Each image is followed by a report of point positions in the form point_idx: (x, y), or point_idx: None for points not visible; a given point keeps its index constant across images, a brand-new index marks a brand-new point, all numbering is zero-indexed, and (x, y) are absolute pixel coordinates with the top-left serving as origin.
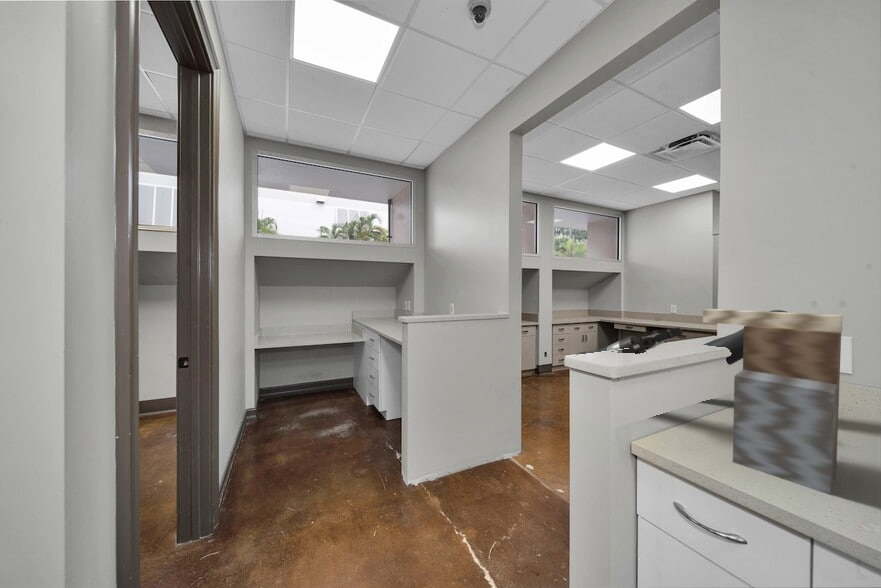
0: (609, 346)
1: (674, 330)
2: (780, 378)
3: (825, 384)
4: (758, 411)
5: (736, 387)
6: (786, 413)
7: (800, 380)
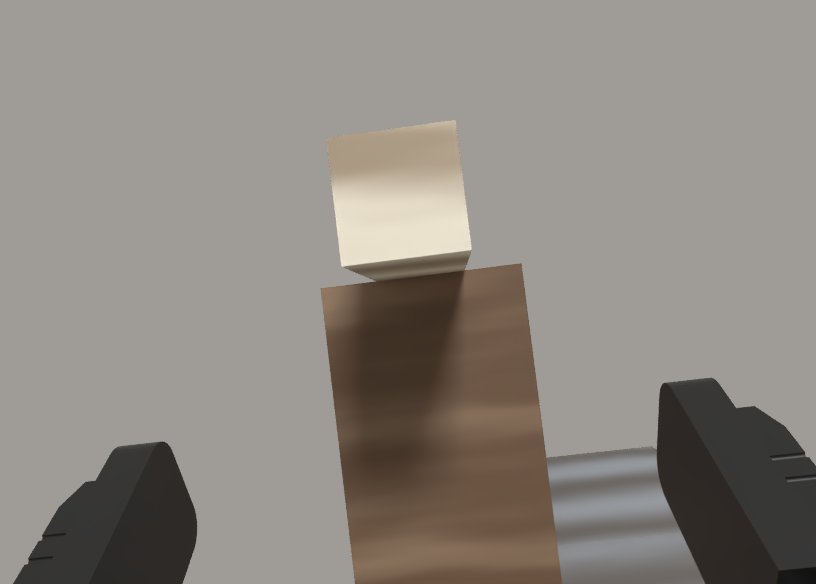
0: None
1: (143, 515)
2: (597, 489)
3: (550, 463)
4: None
5: None
6: None
7: (560, 478)
